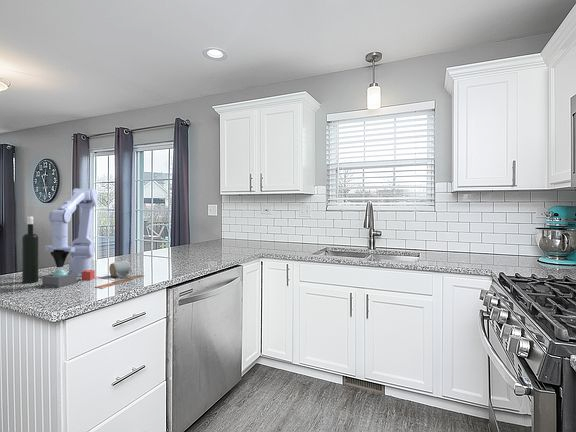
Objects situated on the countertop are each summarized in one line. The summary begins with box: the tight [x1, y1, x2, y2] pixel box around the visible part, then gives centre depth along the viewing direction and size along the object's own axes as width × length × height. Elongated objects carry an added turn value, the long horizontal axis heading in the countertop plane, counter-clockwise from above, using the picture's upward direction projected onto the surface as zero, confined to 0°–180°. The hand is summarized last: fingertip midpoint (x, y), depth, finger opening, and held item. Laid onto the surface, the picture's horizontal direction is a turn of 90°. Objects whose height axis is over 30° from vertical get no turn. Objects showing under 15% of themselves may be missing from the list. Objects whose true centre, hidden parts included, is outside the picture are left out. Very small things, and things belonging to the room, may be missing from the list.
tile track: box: [94, 274, 145, 289], centre depth 153 cm, size 4×26×1 cm, turn 165°
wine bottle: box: [21, 216, 39, 284], centre depth 148 cm, size 6×6×30 cm
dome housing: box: [41, 272, 78, 289], centre depth 145 cm, size 9×9×4 cm
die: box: [81, 269, 96, 281], centre depth 156 cm, size 4×4×4 cm
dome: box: [51, 268, 69, 277], centre depth 145 cm, size 6×6×4 cm
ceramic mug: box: [109, 259, 132, 279], centre depth 163 cm, size 11×8×8 cm
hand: (60, 266), depth 145 cm, fingers closed
